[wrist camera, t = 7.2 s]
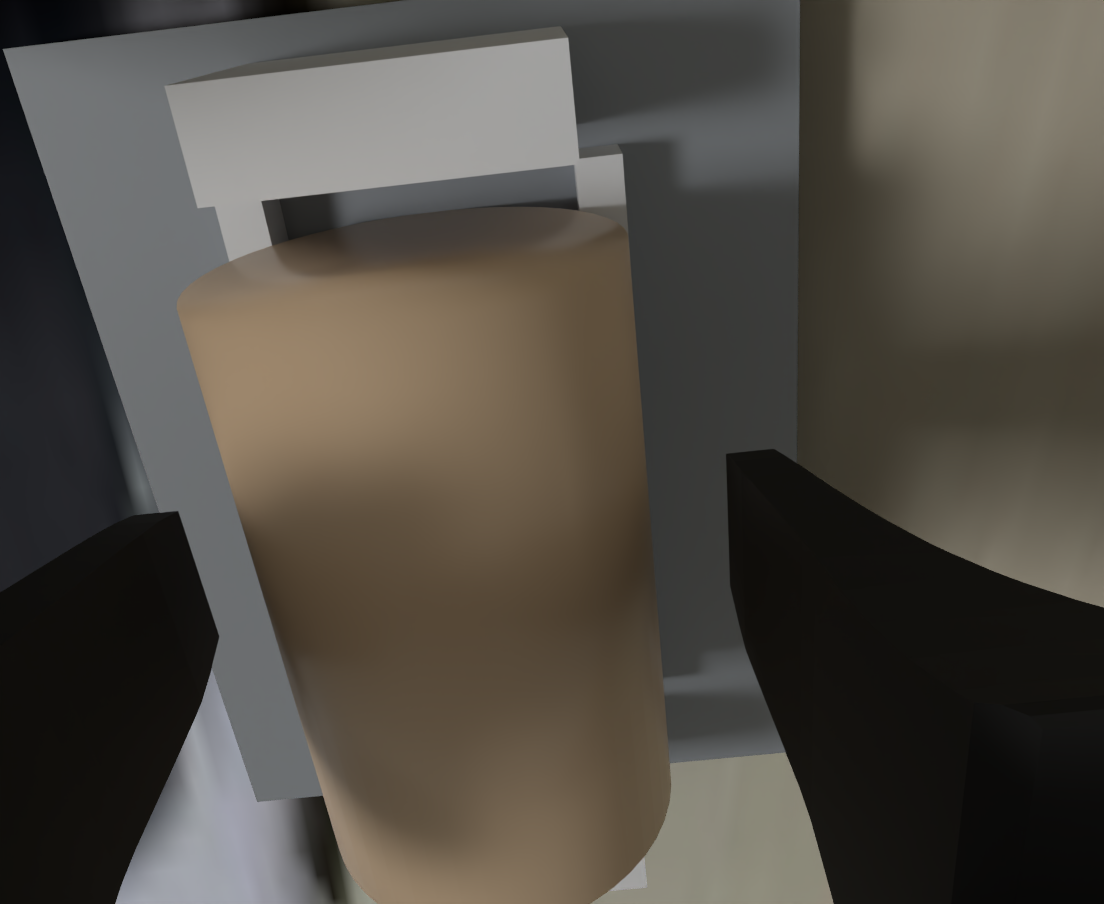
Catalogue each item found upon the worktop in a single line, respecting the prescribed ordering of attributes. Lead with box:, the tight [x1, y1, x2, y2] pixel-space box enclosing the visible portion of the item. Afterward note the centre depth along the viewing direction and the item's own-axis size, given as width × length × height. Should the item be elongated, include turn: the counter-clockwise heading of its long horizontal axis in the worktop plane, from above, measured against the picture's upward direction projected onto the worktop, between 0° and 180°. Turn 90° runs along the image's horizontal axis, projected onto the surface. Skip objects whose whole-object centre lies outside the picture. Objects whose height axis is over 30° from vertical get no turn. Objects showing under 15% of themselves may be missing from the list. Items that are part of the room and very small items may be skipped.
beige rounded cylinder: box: [177, 207, 671, 904], centre depth 12 cm, size 5×8×5 cm, turn 6°
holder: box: [3, 0, 800, 891], centre depth 14 cm, size 10×13×4 cm
